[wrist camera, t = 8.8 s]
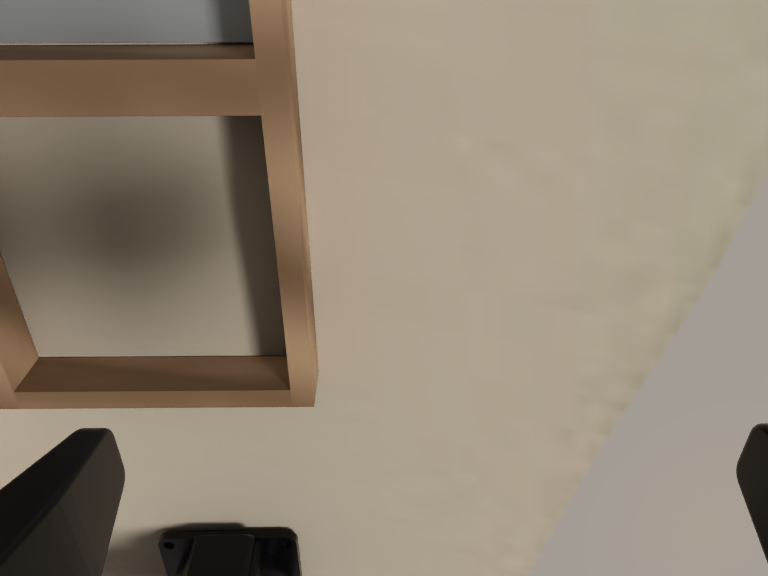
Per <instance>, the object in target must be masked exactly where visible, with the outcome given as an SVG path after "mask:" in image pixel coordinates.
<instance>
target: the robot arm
mask: <svg viewBox="0 0 768 576" xmlns="http://www.w3.org/2000/svg"><path fill="white" fill-rule="evenodd" d="M736 471H737V472H736V473H737V479H738V483H739V486H740V488H741V491H742V494H743V497H744V499H745V502H746V505H747V508H748V510H749V513H750V516H751V518H752V521H753V524H754V527H755V530H756V532H757V535H758V538H759V540H760V543H761V546H762V549H763V552H764V554H765V557H766V560H767V562H768V424H766V423H765V424H757V425H756V426H755V427H753V428H752V430H751V432H750V434H749V437H748V439H747V442H746V444H745V446H744V448H743V451H742V453H741V455H740V458H739V460H738V463H737V469H736ZM124 482H125V470H124V466H123V463H122V459H121V456H120V453H119V450H118V447H117V444H116V440H115V437H114V435H113V433H112V432H111V430H109V429H106V428H82V429H79V430H77V431H75V432H74V433H72V434H71V435H70V436H68V437H67V438H66V439H65V440H63V441H62V442H61V443H59V444H58V445H57V446H56V447H54V448H53V449H52V450H51V451H49V452H48V453H47V454H45V455H44V456H43V457H42V458H40V459H39V460H38V461H36V462H35V463H34V464H33V465H31V466H30V467H29V468H27V469H26V470H25V471H24V472H22V473H21V474H20V475H18V476H17V477H16V478H15V479H13V480H12V481H11V482H10V483H8V484H7V485H6V486H4V487H3V488H2V489H1V490H0V576H101V574H102V570H103V566H104V562H105V558H106V554H107V550H108V546H109V542H110V539H111V535H112V531H113V527H114V523H115V519H116V515H117V511H118V507H119V503H120V499H121V495H122V491H123V487H124ZM159 549H160V552H161V556H162V559H163V562H164V565H165V569H166V572H167V575H168V576H302V571H301V562H300V554H299V545H298V537H297V535H296V534H295V533H294V532H292V531H286V530H285V531H169V532H165V533H163V534H162V535H161V537H160V540H159Z"/></svg>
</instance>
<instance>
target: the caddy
mask: <svg viewBox="0 0 768 576" xmlns="http://www.w3.org/2000/svg"><path fill="white" fill-rule="evenodd" d="M151 42H253V43H254V44H219V45H0V117H65V116H261V118H262V128H263V137H264V146H265V156H266V165H267V175H268V184H269V193H270V203H271V212H272V221H273V231H274V240H275V250H276V259H277V268H278V278H279V287H280V297H281V306H282V315H283V325H284V334H285V343H286V353H287V356H222V357H79V358H39V357H38V354H37V352H36V349H35V346H34V344H33V341H32V338H31V335H30V333H29V330H28V327H27V325H26V322H25V319H24V317H23V314H22V311H21V309H20V306H19V303H18V300H17V298H16V295H15V292H14V290H13V287H12V284H11V282H10V279H9V276H8V274H7V271H6V268H5V265H4V263H3V260H2V257H1V255H0V409H65V408H200V407H314V402H315V395H316V387H317V379H318V360H317V347H316V333H315V320H314V307H313V293H312V280H311V266H310V253H309V239H308V226H307V212H306V199H305V185H304V172H303V159H302V145H301V132H300V118H299V105H298V91H297V78H296V64H295V51H294V37H293V24H292V11H291V0H0V43H151Z"/></svg>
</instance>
